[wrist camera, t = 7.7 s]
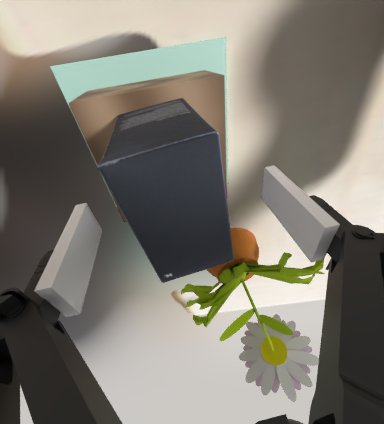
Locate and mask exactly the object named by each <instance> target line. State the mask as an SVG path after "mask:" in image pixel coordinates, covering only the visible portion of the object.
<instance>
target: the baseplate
mask: <svg viewBox="0 0 384 424" xmlns="http://www.w3.org/2000/svg"><path fill="white" fill-rule="evenodd" d="M51 70H52V71H53V74H54V76H55V78H56V80H57V82H58V84H59V86H60V89H61V91H62V93H63V95H64V97H65V99H66V101H67V103H68V106H69V103H70V102H71V101H73V100H74V99H76V98H77V97H79V96H80V95H82V94H83V93H85V92H86V91H90V90H95V89H101V88H107V87H112V86H118V85H124V84H129V83H135V82H141V81H146V80H152V79H158V78H163V77H169V76H175V75H180V74H186V73H191V72H197V71H203V70H206V71H210V72H214V73H218V74H221V75H224V80H225V126H226V172H227V184H228V138H227V75H226V37H224V38H218V39H212V40H206V41H200V42H194V43H188V44H182V45H176V46H170V47H164V48H158V49H152V50H146V51H140V52H134V53H128V54H122V55H116V56H110V57H104V58H98V59H92V60H86V61H80V62H74V63H68V64H62V65H56V66H51ZM69 108H70V106H69ZM70 110H71V108H70ZM71 112H72V110H71ZM72 114H73V112H72ZM73 116H74V114H73ZM74 118H75V116H74ZM75 120H76V118H75ZM76 123H77V120H76ZM77 125H78V123H77ZM78 127H79V125H78ZM79 129H80V127H79ZM80 131H81V129H80ZM81 133H82V131H81ZM82 135H83V133H82ZM83 138H84V135H83ZM84 140H85V138H84ZM85 142H86V140H85ZM86 144H87V142H86ZM87 146H88V144H87ZM88 148H89V146H88ZM89 150H90V148H89ZM90 152H91V150H90ZM91 154H92V153H91ZM92 157H93V155H92ZM93 158H94V157H93ZM94 161H95V159H94ZM95 163H96V161H95ZM96 165H97V163H96ZM97 167H98V165H97ZM102 178H103V177H102ZM103 180H104V178H103ZM104 182H105V180H104ZM105 184H106V182H105ZM106 186H107V185H106ZM107 188H108V187H107ZM108 190H109V189H108ZM109 193H110V191H109ZM110 195H111V193H110ZM111 197H112V195H111ZM112 199H113V197H112ZM113 201H114V199H113ZM114 203H115V202H114ZM115 205H116V204H115ZM116 208H117V206H116Z"/></svg>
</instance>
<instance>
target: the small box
mask: <svg viewBox="0 0 384 424" xmlns="http://www.w3.org/2000/svg"><path fill="white" fill-rule="evenodd" d="M98 169H99V171H100V173H101V175H102V177H103V178H104V180H105V182H106V184H107V186H108V187H109V189H110V191H111V193H112V195H113V196H114V198H115V200H116V202H117V204H118V205H119V207H120V209H121V211H122V212H123V214H124V216H125V218H126V220H127V221H128V223H129V225H130V227H131V229H132V231H133V232H134V234H135V236H136V237H137V239H138V241H139V243H140V245H141V246H142V248H143V250H144V251H145V253H146V255H147V257H148V259H149V260H150V262H151V264H152V266H153V268H154V269H155V271H156V273H157V275H158V276H159V278H160V280H161V281H162V282H167V281H170V280H174V279H176V278H179V277H183V276H186V275H189V274H192V273H195V272H199V271H202V270H205V269H208V268H212V267H215V266H218V265H221V264H224V263H227V262H231V261H233V260H234V255H233V247H232V240H231V232H230V224H229V216H228V207H227V199H226V190H225V182H224V173H223V164H222V155H221V146H220V138H219V133H218V132H217V131H216V130H215V129H214V128H213V127H211V126H210V124H208V123H207V122H206V121H205V120H204V119H203V118H202V117H201V116H200V115H199V114H198V113H197V112H196V111H195V110H194V109H193V108H192V107H191V106H190V105H189V104H188V103H187V102H186V101H185V100H184V99H183V98H179V99H176V100H172V101H168V102H164V103H161V104H157V105H153V106H149V107H146V108H142V109H139V110H135V111H131V112H127V113H124V114H120V115H118V116H117V120H116V124H115V126H114V129H113V132H112V135H111V137H110V139H109V143H108V146H107V149H106V151H105V153H104V155H103V157H102V159H101V161H100V162H99V164H98Z"/></svg>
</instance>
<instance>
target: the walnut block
mask: <svg viewBox="0 0 384 424" xmlns="http://www.w3.org/2000/svg"><path fill="white" fill-rule="evenodd" d="M179 98H183V99H184V100H185V101H186V102H187V103H188V104H189V105H190V106H191V107H192V108H193V109H194V110H195V111H196V112H197V113H198V114H199V115H200V116H201V117H202V118H203V119H204V120H205V121H206V122H207V123H208V124H210V126H211V127H213V128H214V129H215V130H216V131H217V132H218V133H219V138H220V146H221V155H222V164H223V173H224V182H225V190H226V199H227V172H226V126H225V80H224V75H221V74H218V73H214V72H210V71H206V70H203V71H197V72H191V73H186V74H180V75H175V76H169V77H163V78H158V79H152V80H146V81H141V82H135V83H129V84H124V85H118V86H112V87H107V88H101V89H95V90H90V91H86V92H85V93H83V94H82V95H80V96H79V97H77V98H76V99H74V100H73V101H71V102H70V103H69V106H70V108H71V110H72V112H73V114H74V116H75V118H76V120H77V123H78V125H79V127H80V129H81V131H82V133H83V135H84V138H85V140H86V142H87V144H88V146H89V148H90V150H91V153H92V155H93V157H94V159H95V161H96V163H97V165H98V164H99V162H100V161H101V159H102V157H103V155H104V153H105V151H106V149H107V146H108V143H109V139H110V137H111V135H112V132H113V129H114V126H115V124H116V120H117V116H118V115H120V114H124V113H127V112H131V111H135V110H139V109H142V108H146V107H149V106H153V105H157V104H161V103H164V102H168V101H172V100H176V99H179ZM106 185H107V184H106ZM107 187H108V186H107ZM108 189H109V187H108ZM109 191H110V189H109ZM110 193H111V191H110ZM111 195H112V193H111ZM112 197H113V199H114V202H115V204H116V206H117V208H118V210H119V212H120V214H121V216H122V219H123V221H124V222H126V221H127V220H126V218H125V216H124V214H123V212H122V211H121V209H120V207H119V205H118V204H117V202H116V200H115V198H114V196H113V195H112Z"/></svg>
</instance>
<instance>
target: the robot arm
mask: <svg viewBox="0 0 384 424" xmlns="http://www.w3.org/2000/svg"><path fill="white" fill-rule="evenodd" d="M261 198H262V199H263V201H264V202H265V203H266V205H267V206H268V207H269V208H270V210H271V211H272V212H273V214H274V215H275V216H276V217H277V219H278V220H279V221H280V223H281V224H282V225H283V227H284V228H285V229H286V230H287V232H288V233H289V234H290V236H291V237H292V238H293V240H294V241H295V242H296V243H297V245H298V246H299V247H300V249H301V250H302V251H303V253H304V254H305V255H306V256H307V258H308V259H309V260H310V262H314V261H319V260H323V259H324V258H325V256H326V253H328V254H329V255H330V256H331V260H330V262H329V264H328V266H327V268H326V270H328V269H329V273H328V282H327V291H326V300H325V310H324V319H323V328H322V337H321V347H320V355H319V365H318V374H317V383H316V391H315V394H314V397H313V400H312V404H311V409H310V416H309V424H384V233H375V232H374V231H372V230H370V229H369V228H367V227H364V226H359V225H352V224H351V223H350V222H349V221H348V220H346V219H345V218H344V217H343V216H342V215H341V214H339V213H338V212H337V211H336V210H334V209H333V208H332V207H331V206H329V204H328V203H326V202H325V201H324V200H323V199H321V198H319V197H317V196H314V195H313V196H308V195H307V194H306V193H304V192H303V191H302V190H301V189H300V188H299V187H298V186H297V185H296V184H294V183H293V182H292V181H291V180H290V179H289V178H288V177H287V176H286V175H284V174H283V173H282V172H281V171H280V170H279V169H278V168H277V167H276V166H275V165H274V166H269V167H264V176H263V185H262V194H261ZM102 231H103V230H102V228H101V227H100V225H99V223H98V221H97V220H96V218H95V216H94V214H93V213H92V211H91V209H90V208H89V206H88V204H87V203H83V204H78V205H76V206H75V208H74V210H73V212H72V214H71V216H70V218H69V220H68V222H67V224H66V226H65V228H64V231H63V233H62V235H61V237H60V239H59V241H58V243H57V245H56V247H55V249H54V250H52V251H48V252H47V254H46V255H45V256H44V257H43V258H42V259H41V261H40V263H39V265H38V268H37V269H36V271H35V272H34V275H33V276H32V278H31V280H30V282H29V284H28V286H27V287H26V289H25V291H24V293H22V292H21V291H20V290H18V289H17V288H11V289H7V290H5V291H3V292H1V293H0V424H20V385H21V387H22V391H23V394H24V396H25V399H26V402H27V405H28V408H29V411H30V414H31V417H32V420H33V423H34V424H122V422H121V421H120V419H119V417H118V416H117V414H116V412H115V411H114V409H113V407H112V406H111V404H110V402H109V401H108V399H107V398H106V396H105V394H104V392H103V391H102V389H101V387H100V386H99V384H98V382H97V381H96V379H95V378H94V376H93V374H92V373H91V371H90V369H89V368H88V366H87V364H86V363H85V361H84V360H83V358H82V356H81V354H80V353H79V351H78V349H77V348H76V346H75V345H74V343H73V341H72V340H71V338H70V336H69V335H68V333H67V331H66V330H65V328H64V326H63V325H62V323H61V322H60V321H59V320H58V317H59V315H60V313H62V314H63V315H64V316H65V317H69V316H73V315H78V314H81V310H82V306H83V302H84V298H85V295H86V291H87V287H88V284H89V280H90V276H91V272H92V268H93V265H94V261H95V257H96V253H97V249H98V246H99V242H100V238H101V234H102ZM256 424H303V423H301V422H299V421H295V420H292V419H287V417H286V415H281V416H277V417H273V418H270V419H266V420H262V421H258V422H257V423H256Z"/></svg>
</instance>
